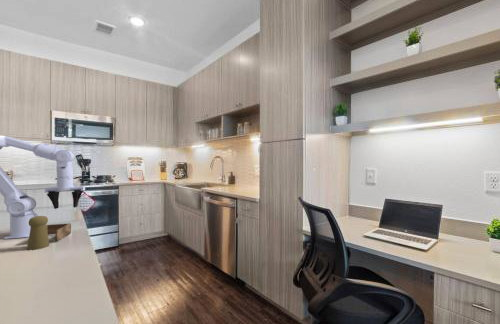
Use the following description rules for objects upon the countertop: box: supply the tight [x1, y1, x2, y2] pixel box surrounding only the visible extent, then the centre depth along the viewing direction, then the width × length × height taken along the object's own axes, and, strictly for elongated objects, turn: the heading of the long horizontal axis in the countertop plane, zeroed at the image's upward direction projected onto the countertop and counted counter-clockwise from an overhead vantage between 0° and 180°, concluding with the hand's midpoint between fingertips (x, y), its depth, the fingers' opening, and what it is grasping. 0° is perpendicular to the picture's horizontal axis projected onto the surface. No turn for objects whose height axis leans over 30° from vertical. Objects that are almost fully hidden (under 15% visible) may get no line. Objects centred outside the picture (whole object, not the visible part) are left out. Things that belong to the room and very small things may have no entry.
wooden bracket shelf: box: [46, 223, 72, 242], centre depth 94 cm, size 11×9×4 cm
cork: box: [26, 215, 50, 251], centre depth 85 cm, size 6×6×11 cm
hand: (66, 207), depth 104 cm, fingers open, 7 cm apart
